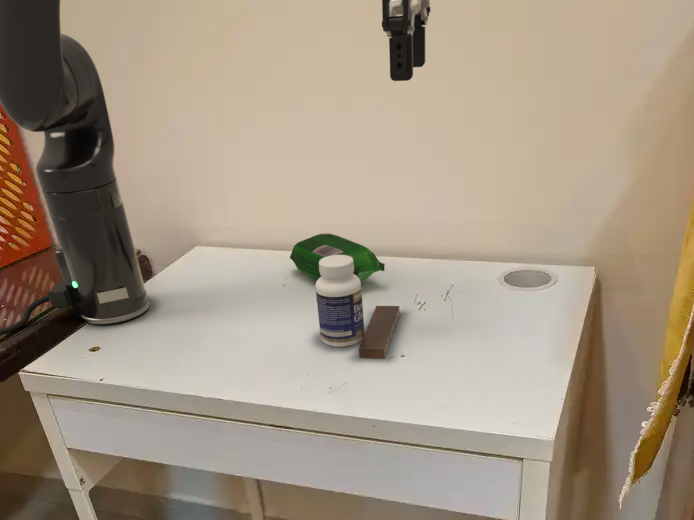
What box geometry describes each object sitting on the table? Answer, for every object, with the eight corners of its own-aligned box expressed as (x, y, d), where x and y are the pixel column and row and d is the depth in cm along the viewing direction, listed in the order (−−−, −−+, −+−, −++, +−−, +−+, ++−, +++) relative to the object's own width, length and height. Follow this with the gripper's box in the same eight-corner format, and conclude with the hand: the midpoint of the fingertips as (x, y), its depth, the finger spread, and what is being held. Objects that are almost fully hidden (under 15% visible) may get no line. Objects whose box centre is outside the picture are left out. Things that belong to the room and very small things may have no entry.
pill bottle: (365, 346, 86) (359, 267, 80) (320, 349, 86) (311, 270, 80) (364, 327, 90) (359, 250, 84) (322, 330, 90) (313, 253, 85)
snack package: (347, 301, 97) (344, 263, 94) (286, 271, 108) (282, 236, 105) (388, 287, 100) (387, 250, 97) (326, 259, 111) (323, 225, 108)
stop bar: (359, 357, 84) (358, 348, 83) (376, 314, 93) (376, 305, 92) (384, 358, 83) (384, 349, 82) (399, 314, 92) (399, 305, 92)
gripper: (380, -120, 72) (385, 64, 82) (348, -128, 61) (358, 86, 70) (455, -127, 70) (452, 61, 80) (436, -137, 59) (435, 83, 69)
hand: (408, 73), depth 75 cm, fingers open, 8 cm apart
